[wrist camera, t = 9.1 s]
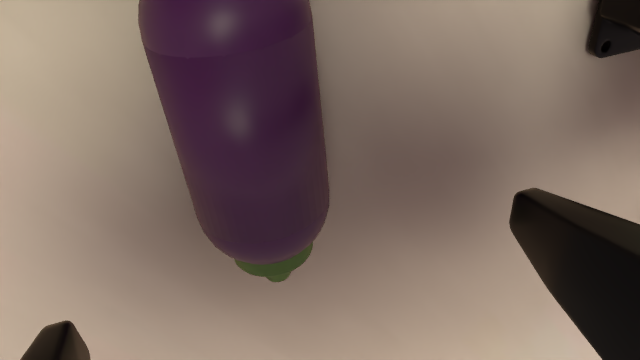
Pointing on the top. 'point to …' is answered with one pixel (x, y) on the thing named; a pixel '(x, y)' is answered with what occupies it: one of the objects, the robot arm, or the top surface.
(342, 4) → the top surface
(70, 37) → the top surface
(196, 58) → the eggplant
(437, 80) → the top surface
